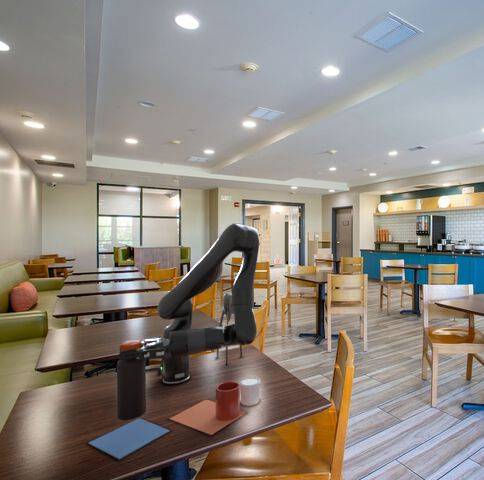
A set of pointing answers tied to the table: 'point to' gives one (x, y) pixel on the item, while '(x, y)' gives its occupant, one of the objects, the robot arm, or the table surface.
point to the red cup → (227, 401)
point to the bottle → (131, 384)
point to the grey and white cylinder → (250, 391)
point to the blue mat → (128, 438)
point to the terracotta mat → (203, 417)
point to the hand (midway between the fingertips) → (119, 352)
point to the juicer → (228, 311)
